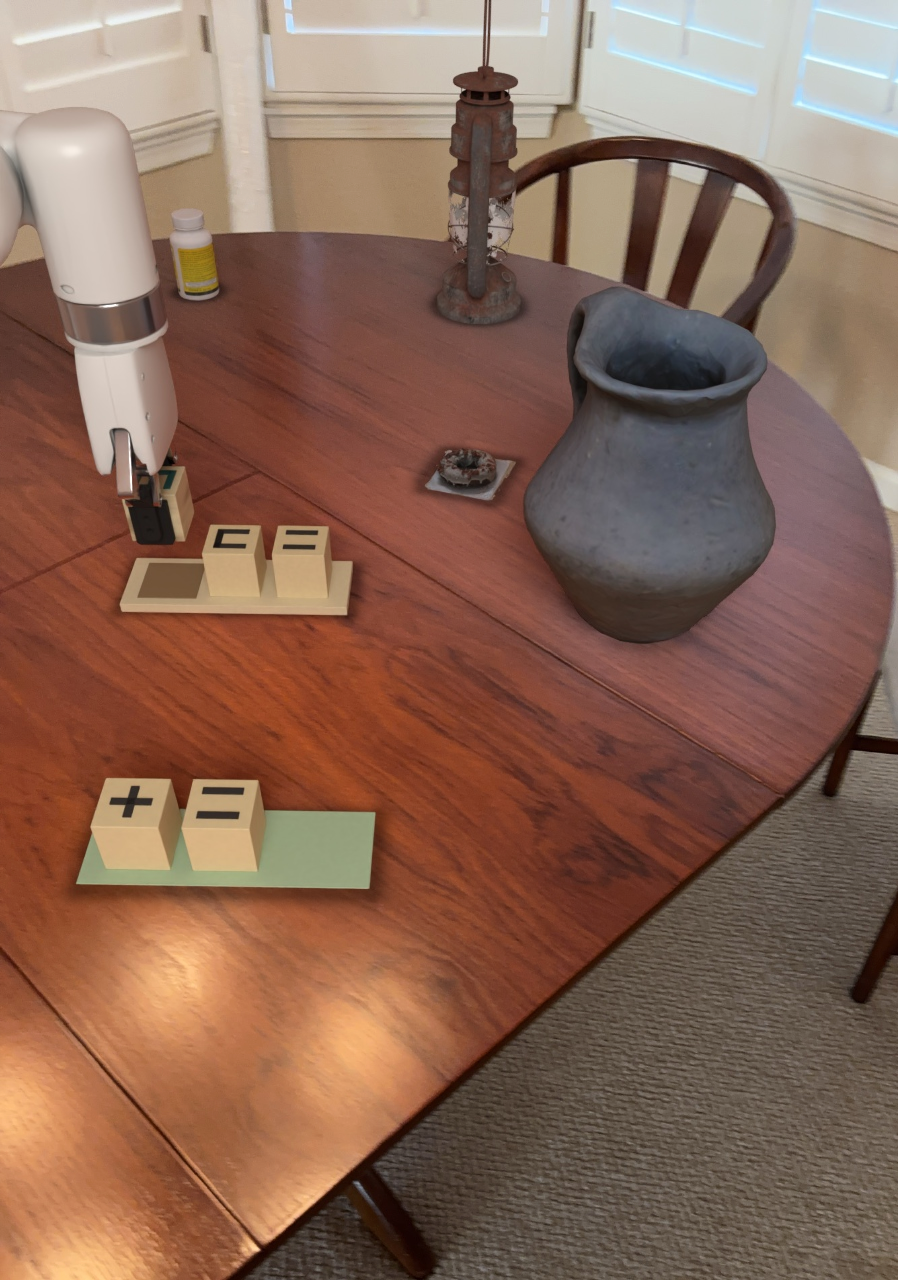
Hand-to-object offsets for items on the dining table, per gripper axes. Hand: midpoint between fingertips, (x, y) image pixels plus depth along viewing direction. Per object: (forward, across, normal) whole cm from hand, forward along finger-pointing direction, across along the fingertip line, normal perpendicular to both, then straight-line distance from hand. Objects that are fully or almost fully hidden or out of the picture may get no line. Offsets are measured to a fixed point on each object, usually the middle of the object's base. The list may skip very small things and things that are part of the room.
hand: (162, 523), depth 91 cm
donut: (+7, -20, +27) cm, 34 cm away
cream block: (0, 0, 0) cm, 0 cm away
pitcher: (+8, +1, +41) cm, 41 cm away
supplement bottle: (+7, -65, -9) cm, 66 cm away
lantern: (+8, -62, +28) cm, 68 cm away
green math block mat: (+7, +31, +10) cm, 33 cm away
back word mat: (+7, 0, +6) cm, 9 cm away
